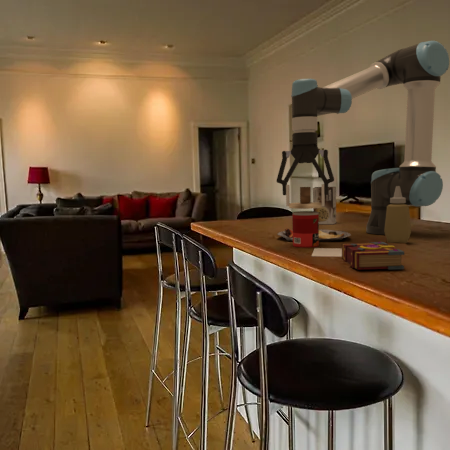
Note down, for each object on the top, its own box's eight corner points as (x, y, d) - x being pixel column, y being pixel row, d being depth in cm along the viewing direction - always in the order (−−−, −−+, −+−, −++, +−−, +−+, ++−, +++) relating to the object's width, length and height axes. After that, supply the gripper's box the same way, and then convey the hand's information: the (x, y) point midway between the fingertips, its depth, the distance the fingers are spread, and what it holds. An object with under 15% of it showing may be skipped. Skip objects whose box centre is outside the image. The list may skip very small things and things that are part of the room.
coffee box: (336, 223, 224) (336, 186, 222) (333, 224, 218) (333, 187, 216) (316, 222, 228) (316, 186, 226) (312, 224, 222) (312, 187, 220)
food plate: (266, 236, 183) (266, 227, 183) (321, 233, 192) (322, 223, 192) (302, 247, 160) (302, 236, 160) (363, 243, 169) (363, 232, 169)
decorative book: (356, 271, 119) (356, 250, 118) (339, 259, 135) (339, 240, 134) (404, 270, 119) (404, 249, 118) (382, 257, 135) (382, 239, 134)
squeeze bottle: (397, 245, 156) (398, 186, 154) (378, 242, 163) (378, 186, 161) (416, 243, 159) (417, 185, 157) (397, 240, 166) (397, 185, 165)
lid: (322, 205, 159) (322, 186, 159) (321, 208, 150) (321, 187, 149) (290, 206, 162) (290, 186, 161) (287, 208, 152) (287, 188, 151)
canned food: (318, 249, 152) (318, 213, 151) (291, 249, 154) (291, 213, 153) (319, 245, 160) (318, 210, 159) (293, 245, 161) (293, 211, 160)
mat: (363, 250, 148) (363, 248, 148) (364, 259, 135) (364, 256, 135) (314, 250, 151) (314, 248, 151) (311, 258, 138) (311, 256, 138)
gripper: (343, 131, 154) (343, 204, 157) (269, 134, 159) (270, 205, 162) (343, 129, 147) (343, 206, 149) (265, 133, 152) (267, 207, 155)
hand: (305, 205), depth 156 cm, fingers closed on lid, 10 cm apart
